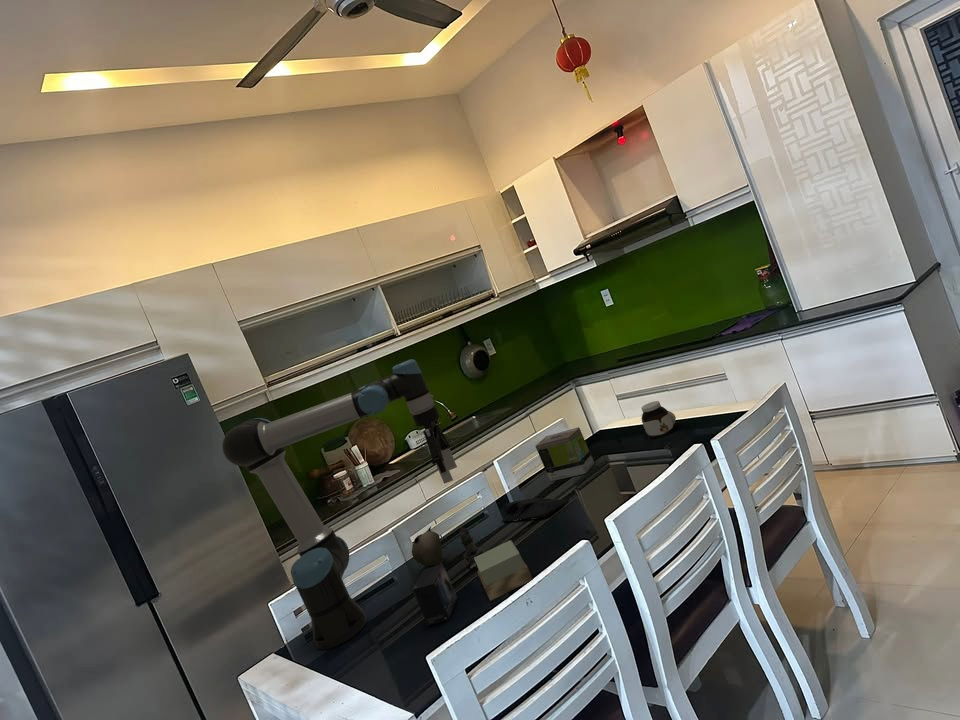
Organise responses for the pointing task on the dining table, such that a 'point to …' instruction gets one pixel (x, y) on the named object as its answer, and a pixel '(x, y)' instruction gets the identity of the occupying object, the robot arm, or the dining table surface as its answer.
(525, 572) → the tower bottom
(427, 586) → the small box
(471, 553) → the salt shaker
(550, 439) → the tea box
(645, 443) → the dining table surface
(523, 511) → the dark slate chunk
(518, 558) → the tower top
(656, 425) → the spread jar
